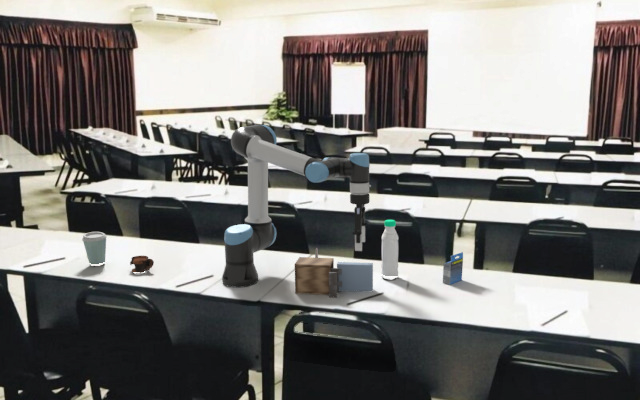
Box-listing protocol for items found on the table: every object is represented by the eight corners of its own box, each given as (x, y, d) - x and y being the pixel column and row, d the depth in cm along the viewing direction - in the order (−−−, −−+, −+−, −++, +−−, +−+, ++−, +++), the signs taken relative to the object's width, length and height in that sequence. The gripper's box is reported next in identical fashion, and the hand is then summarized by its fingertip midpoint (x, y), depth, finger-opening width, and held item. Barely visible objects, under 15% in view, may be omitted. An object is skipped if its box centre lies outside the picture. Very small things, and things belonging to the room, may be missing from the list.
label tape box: (454, 278, 258) (455, 250, 256) (462, 280, 256) (463, 251, 253) (442, 283, 252) (442, 254, 250) (450, 285, 249) (451, 256, 247)
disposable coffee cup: (113, 263, 287) (111, 232, 285) (94, 269, 278) (91, 237, 276) (99, 260, 293) (96, 230, 290) (79, 266, 284) (76, 234, 281)
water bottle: (400, 276, 262) (400, 219, 257) (395, 281, 255) (395, 222, 251) (384, 274, 265) (384, 218, 260) (379, 279, 258) (379, 221, 254)
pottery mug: (125, 275, 271) (125, 257, 274) (138, 278, 280) (138, 261, 282) (148, 270, 268) (148, 252, 271) (161, 273, 276) (160, 256, 279)
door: (337, 290, 245) (336, 264, 243) (338, 288, 248) (337, 262, 246) (372, 292, 243) (372, 265, 241) (372, 289, 246) (372, 263, 244)
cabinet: (293, 296, 240) (293, 266, 237) (300, 285, 252) (299, 257, 250) (336, 297, 237) (336, 267, 235) (341, 286, 249) (340, 258, 247)
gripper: (366, 199, 225) (367, 254, 229) (371, 187, 250) (372, 238, 253) (346, 198, 227) (347, 254, 230) (353, 187, 251) (354, 238, 255)
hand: (360, 246), depth 242 cm, fingers open, 13 cm apart
